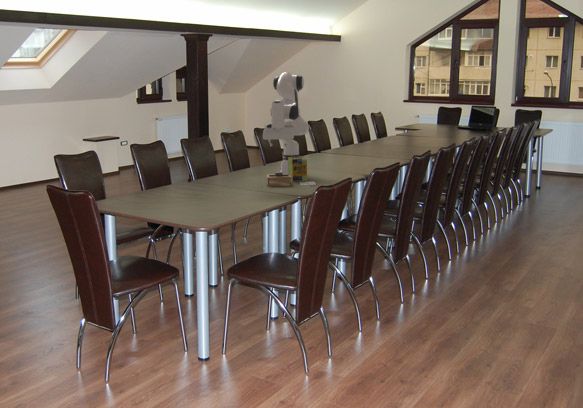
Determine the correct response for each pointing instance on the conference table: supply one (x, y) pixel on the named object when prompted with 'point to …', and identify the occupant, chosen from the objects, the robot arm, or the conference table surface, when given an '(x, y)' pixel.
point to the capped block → (278, 173)
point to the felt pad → (308, 183)
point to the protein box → (297, 168)
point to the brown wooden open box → (279, 180)
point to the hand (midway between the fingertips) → (278, 146)
